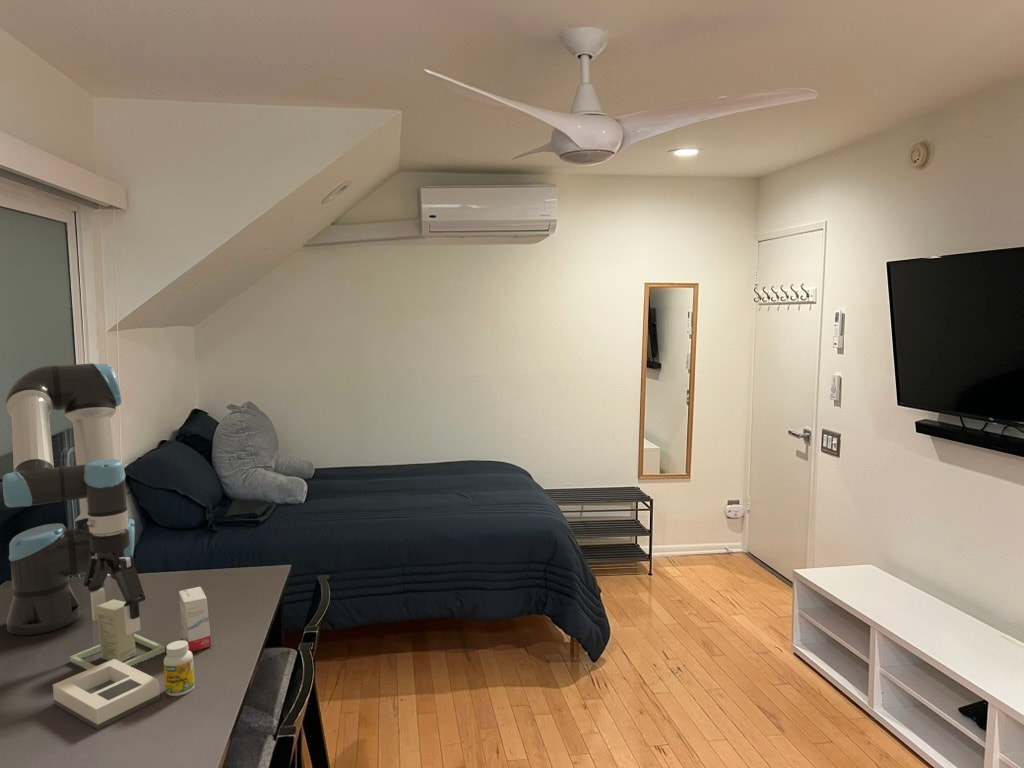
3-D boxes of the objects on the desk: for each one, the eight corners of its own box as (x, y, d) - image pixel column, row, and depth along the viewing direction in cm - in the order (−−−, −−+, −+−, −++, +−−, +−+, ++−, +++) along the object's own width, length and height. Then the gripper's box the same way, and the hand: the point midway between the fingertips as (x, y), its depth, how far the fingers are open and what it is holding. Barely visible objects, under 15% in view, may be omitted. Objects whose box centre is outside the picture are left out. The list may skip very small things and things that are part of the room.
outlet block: (54, 704, 139) (52, 684, 139) (115, 676, 149) (114, 658, 149) (98, 729, 131) (96, 709, 130) (159, 698, 141) (158, 679, 140)
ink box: (211, 647, 162) (208, 598, 160) (187, 653, 159) (184, 603, 157) (204, 632, 169) (201, 585, 167) (181, 638, 166) (178, 590, 165)
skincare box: (137, 655, 158) (133, 602, 157) (119, 664, 154) (115, 610, 153) (117, 649, 161) (113, 597, 160) (99, 658, 157) (95, 605, 156)
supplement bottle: (197, 681, 147) (194, 637, 146) (191, 695, 142) (189, 649, 141) (169, 684, 146) (166, 640, 145) (162, 698, 141) (159, 652, 140)
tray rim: (70, 661, 156) (69, 656, 155) (131, 636, 167) (130, 631, 167) (103, 678, 148) (103, 673, 148) (165, 651, 160) (164, 646, 160)
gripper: (61, 527, 158) (69, 619, 160) (123, 545, 145) (131, 645, 147) (96, 518, 164) (103, 607, 166) (158, 535, 151) (165, 631, 153)
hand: (116, 625), depth 156 cm, fingers open, 13 cm apart
